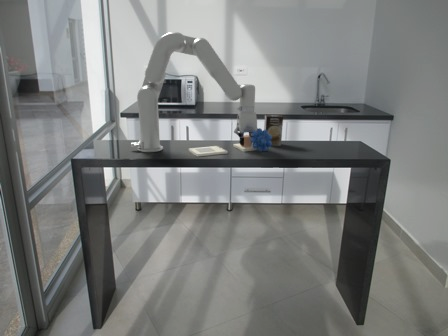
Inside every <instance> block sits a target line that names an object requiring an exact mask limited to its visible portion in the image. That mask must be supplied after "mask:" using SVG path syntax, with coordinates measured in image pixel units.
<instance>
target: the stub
mask: <svg viewBox="0 0 448 336" xmlns="http://www.w3.org/2000/svg"><path fill="white" fill-rule="evenodd" d="M243 138H244V146H242V145H240V143H234V144H232V147H233V148H235V149H238V150H240V151H241V152H243V153H244V152H252V151H258V149H257V148H253V146H252V145H253V143H252V142H251V141H250V138H251V137H250V136H249V134H248V135H244V136H243Z"/></svg>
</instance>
